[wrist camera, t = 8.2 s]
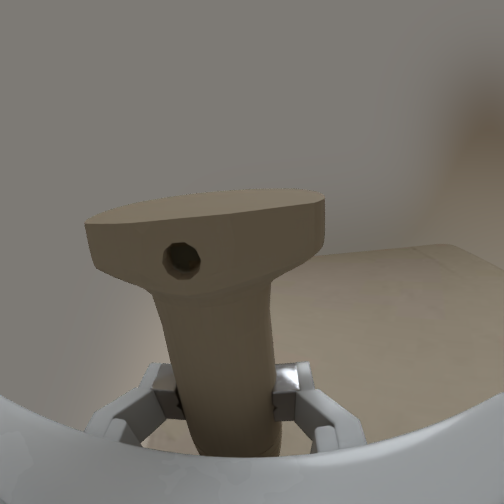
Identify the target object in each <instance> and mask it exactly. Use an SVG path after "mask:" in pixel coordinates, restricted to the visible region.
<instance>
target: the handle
mask: <svg viewBox="0 0 504 504" xmlns="http://www.w3.org/2000/svg"><path fill="white" fill-rule="evenodd" d="M85 229H86V234H87V239H88V244H89V248H90V253H91V257H92V260H93V263H94V265H95V267H96V268H97V269H99V270H100V271H103V272H104V273H107V274H109V275H111V276H113V277H115V278H118V279H120V280H123V281H125V282H128V283H131V284H134V285H137V286H139V287H141V288H144V289H145V290H147V291H148V292H149V293H150V294H152V296H153V299H154V302H155V305H156V308H157V311H158V314H159V317H160V320H161V323H162V326H163V331H164V336H165V340H166V344H167V348H168V352H169V357H170V361H171V365H172V369H173V373H174V377H175V380H176V384H177V388H178V392H179V396H180V400H181V403H182V407H183V411H184V414H185V418H186V421H187V425H188V428H189V431H190V434H191V437H192V439H193V442H194V444H195V446H196V448H197V450H198V452H199V454H200V456H213V457H237V458H257V457H279V453H280V448H281V437H282V423H281V421H277V422H275V420H274V415H273V410H274V407H275V406H274V405H272V389H273V387H274V385H275V381H276V370H275V359H274V348H273V338H272V327H271V317H270V291H271V282H272V281H273V280H274V279H275V278H277V277H279V276H281V275H282V274H284V273H286V272H288V271H290V270H292V269H294V268H296V267H298V266H299V265H301V264H303V263H304V262H306V261H307V260H309V259H310V258H312V257H313V256H314V255H315V254H316V253H318V251H319V250H320V249H321V248H322V246H323V243H324V236H325V196H324V195H323V194H321V193H319V192H316V191H311V190H303V189H245V190H229V191H217V192H206V193H196V194H189V195H180V196H174V197H167V198H161V199H155V200H149V201H143V202H138V203H133V204H129V205H125V206H121V207H117V208H114V209H111V210H108V211H105V212H102V213H100V214H97V215H95V216H93V217H91V218H89V219H87V220H86V221H85Z"/></svg>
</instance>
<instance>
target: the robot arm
mask: <svg viewBox="0 0 504 504" xmlns="http://www.w3.org/2000/svg"><path fill="white" fill-rule="evenodd" d="M275 370H276V381H275V385H274V387H273V389H272V405H274V406H275V407H274V410H273V415H274V420H275V422H277V421H294V422H295V423H296V424H297V425H298V426H299V427H300V428H301V429H302V431H303V432H304V433H305V434H306V435H307V436H308V437H309V438H310V439H311V440H312V441H313V442H312V447H311V452H310V454H305V455H295V456H281V457H257V458H237V457H213V456H200V455H190V454H181V453H174V452H167V451H160V450H155V449H149V448H143V447H142V446H141V444H140V443H141V442H142V441H144V440H145V439H146V438H147V437H148V436H149V435H150V434H151V433H152V432H154V431H155V430H156V429H157V428H158V427H159V426H160V425H161V424H162V423H163V422H164V421H165V420H166V419H178V420H186V418H185V414H184V411H183V407H182V403H181V400H180V396H179V392H178V388H177V384H176V380H175V377H174V373H173V369H172V365H171V364H164V363H163V364H161V363H151V364H150V365H149V366H148V368H147V371H146V373H145V374H144V377H143V379H142V381H141V383H140V385H139V387H138V388H133V389H132V390H130V391H129V392H127V393H125V394H124V395H122V396H120V397H119V398H117V399H116V400H114V401H113V402H111V403H109V404H107V405H106V406H104V407H102V408H101V409H99V410H98V411H96V412H94V414H93V416H92V418H91V419H90V421H89V423H88V425H87V427H86V428H85V430H84V432H82V431H80V430H77V429H74V428H71V427H69V426H66V425H63V424H61V423H58V422H55V421H53V420H51V419H48V418H46V417H44V416H41V415H39V414H37V413H35V412H32V411H30V410H28V409H26V408H24V407H22V406H20V405H18V404H16V403H14V402H12V401H10V400H8V399H7V398H5V397H3V396H1V395H0V504H504V392H502V393H499V394H497V395H495V396H493V397H491V398H489V399H487V400H486V401H484V402H482V403H480V404H478V405H476V406H474V407H472V408H470V409H468V410H466V411H463V412H461V413H459V414H457V415H455V416H452V417H450V418H448V419H445V420H443V421H440V422H438V423H435V424H432V425H430V426H427V427H424V428H421V429H419V430H416V431H413V432H410V433H406V434H403V435H400V436H396V437H393V438H389V439H386V440H382V441H378V442H374V443H370V444H367V442H366V439H365V435H364V432H363V429H362V426H361V423H360V420H359V419H358V418H356V417H355V416H354V415H352V414H351V413H350V412H348V411H347V410H346V409H344V408H343V407H342V406H340V405H339V404H338V403H336V402H335V401H334V400H332V399H331V398H330V397H328V396H327V395H326V394H324V393H323V392H322V391H321V390H319V389H316V390H315V386H314V382H313V377H312V373H311V368H310V364H309V362H308V361H305V362H296V363H285V364H275Z"/></svg>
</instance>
